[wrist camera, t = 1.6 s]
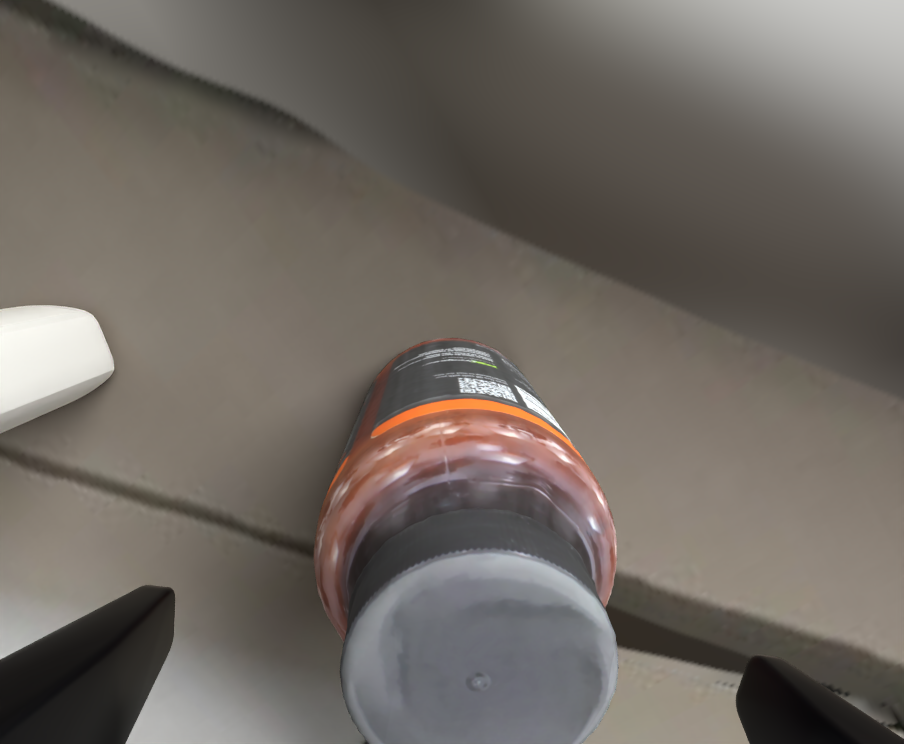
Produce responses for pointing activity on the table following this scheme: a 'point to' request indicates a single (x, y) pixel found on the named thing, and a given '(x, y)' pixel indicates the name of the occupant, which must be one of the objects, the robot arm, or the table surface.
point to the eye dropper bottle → (48, 360)
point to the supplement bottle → (467, 560)
